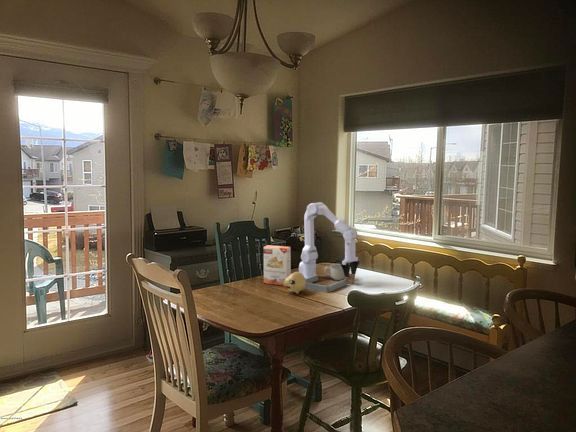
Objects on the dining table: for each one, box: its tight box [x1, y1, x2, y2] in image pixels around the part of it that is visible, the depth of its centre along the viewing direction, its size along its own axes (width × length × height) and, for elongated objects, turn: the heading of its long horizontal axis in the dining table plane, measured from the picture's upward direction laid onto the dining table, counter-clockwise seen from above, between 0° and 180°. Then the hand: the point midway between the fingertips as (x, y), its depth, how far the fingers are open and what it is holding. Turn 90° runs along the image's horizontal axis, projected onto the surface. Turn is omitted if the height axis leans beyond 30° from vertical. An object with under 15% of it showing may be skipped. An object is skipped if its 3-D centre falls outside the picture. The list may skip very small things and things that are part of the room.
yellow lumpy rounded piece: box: [283, 271, 306, 295], centre depth 234 cm, size 10×12×11 cm
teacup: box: [323, 263, 345, 281], centre depth 262 cm, size 14×11×8 cm
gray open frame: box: [305, 274, 347, 293], centre depth 247 cm, size 19×19×3 cm
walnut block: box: [345, 273, 356, 285], centre depth 252 cm, size 4×4×5 cm
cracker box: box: [263, 244, 292, 287], centre depth 251 cm, size 14×6×21 cm, turn 68°
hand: (350, 275), depth 252 cm, fingers open, 7 cm apart
